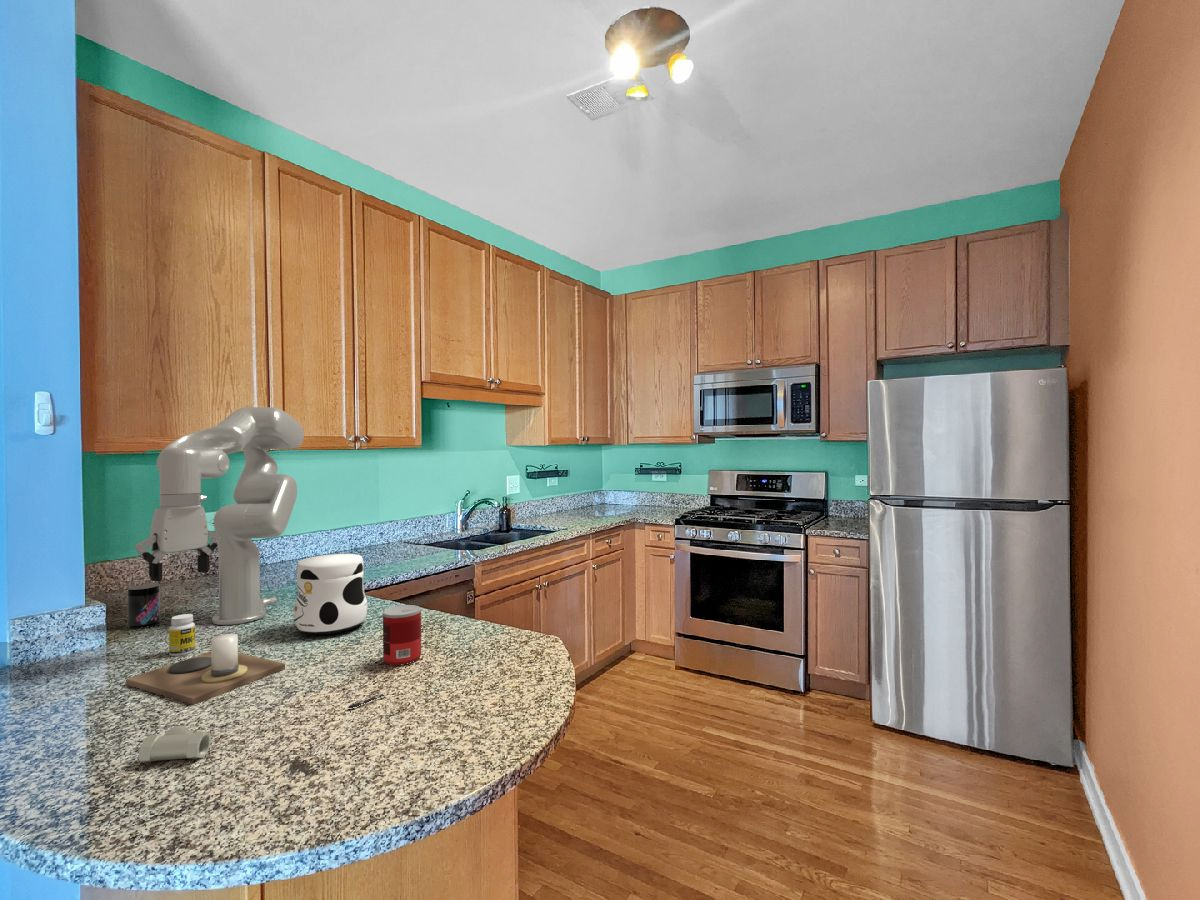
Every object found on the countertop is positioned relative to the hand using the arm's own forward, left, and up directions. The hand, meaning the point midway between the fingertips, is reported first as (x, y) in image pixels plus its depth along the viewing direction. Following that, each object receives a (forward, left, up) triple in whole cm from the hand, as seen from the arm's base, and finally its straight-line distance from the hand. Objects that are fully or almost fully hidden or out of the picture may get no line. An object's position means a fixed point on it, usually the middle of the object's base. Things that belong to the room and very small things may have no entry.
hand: (180, 576), depth 127 cm
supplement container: (-8, -32, -18) cm, 38 cm away
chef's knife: (-4, +62, -18) cm, 65 cm away
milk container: (-26, +17, -18) cm, 36 cm away
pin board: (+6, +20, -18) cm, 27 cm away
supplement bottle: (0, 0, -18) cm, 18 cm away
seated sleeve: (+6, +25, -16) cm, 30 cm away
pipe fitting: (+25, +46, -18) cm, 56 cm away
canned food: (-17, +50, -18) cm, 56 cm away
